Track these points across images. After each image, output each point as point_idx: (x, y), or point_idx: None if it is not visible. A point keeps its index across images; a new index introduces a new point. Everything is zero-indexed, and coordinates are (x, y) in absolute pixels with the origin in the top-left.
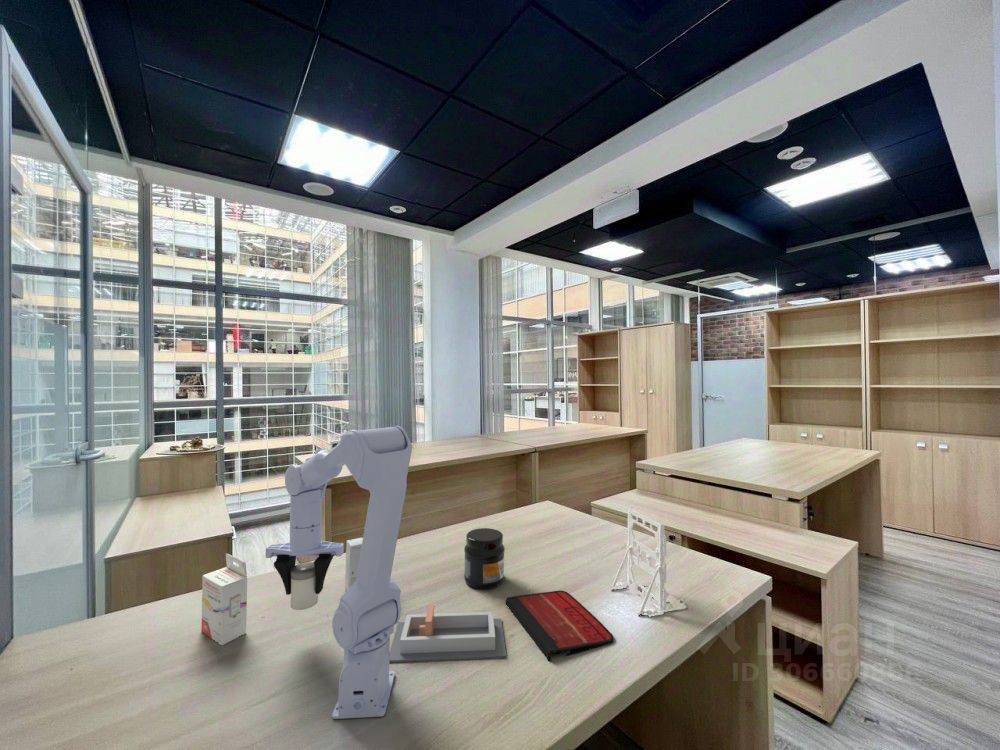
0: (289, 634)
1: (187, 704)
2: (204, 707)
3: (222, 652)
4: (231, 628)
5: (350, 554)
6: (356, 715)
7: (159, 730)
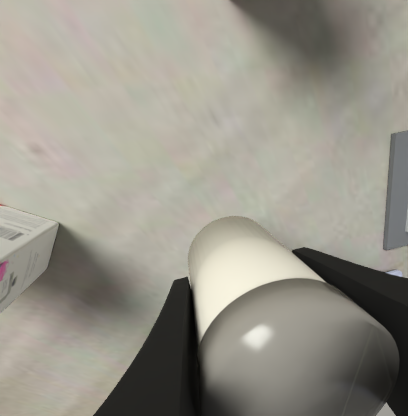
0: (167, 208)
1: None
2: None
3: (70, 284)
4: (33, 270)
5: None
6: None
7: None
